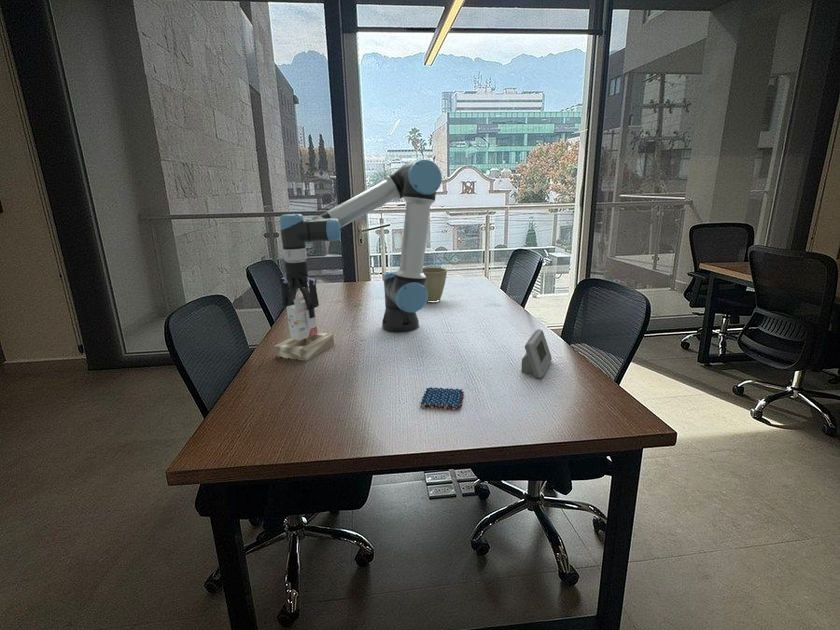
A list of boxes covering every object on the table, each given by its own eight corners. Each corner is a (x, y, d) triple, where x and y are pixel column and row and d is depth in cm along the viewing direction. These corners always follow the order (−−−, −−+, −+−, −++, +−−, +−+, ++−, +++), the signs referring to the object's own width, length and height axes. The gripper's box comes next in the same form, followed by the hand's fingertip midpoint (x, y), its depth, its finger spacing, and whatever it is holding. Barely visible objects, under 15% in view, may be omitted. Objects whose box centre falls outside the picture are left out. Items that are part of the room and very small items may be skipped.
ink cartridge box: (308, 331, 159) (304, 292, 155) (317, 334, 156) (314, 294, 152) (289, 338, 152) (284, 297, 148) (298, 341, 149) (294, 299, 145)
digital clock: (540, 381, 125) (542, 346, 122) (511, 374, 130) (512, 340, 127) (560, 363, 137) (562, 331, 134) (533, 357, 142) (535, 326, 139)
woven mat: (461, 413, 109) (460, 406, 109) (419, 410, 111) (419, 403, 111) (464, 394, 119) (464, 387, 119) (426, 392, 121) (426, 385, 121)
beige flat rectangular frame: (334, 344, 161) (333, 334, 160) (307, 360, 146) (305, 349, 145) (304, 341, 165) (303, 331, 164) (275, 356, 150) (274, 346, 149)
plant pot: (437, 306, 208) (437, 273, 204) (412, 302, 216) (410, 271, 211) (452, 299, 220) (452, 268, 215) (428, 296, 228) (427, 266, 223)
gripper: (265, 261, 147) (274, 326, 153) (313, 263, 140) (319, 331, 146) (280, 258, 153) (287, 320, 160) (325, 259, 147) (331, 324, 153)
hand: (302, 325), depth 153 cm, fingers closed on ink cartridge box, 6 cm apart
